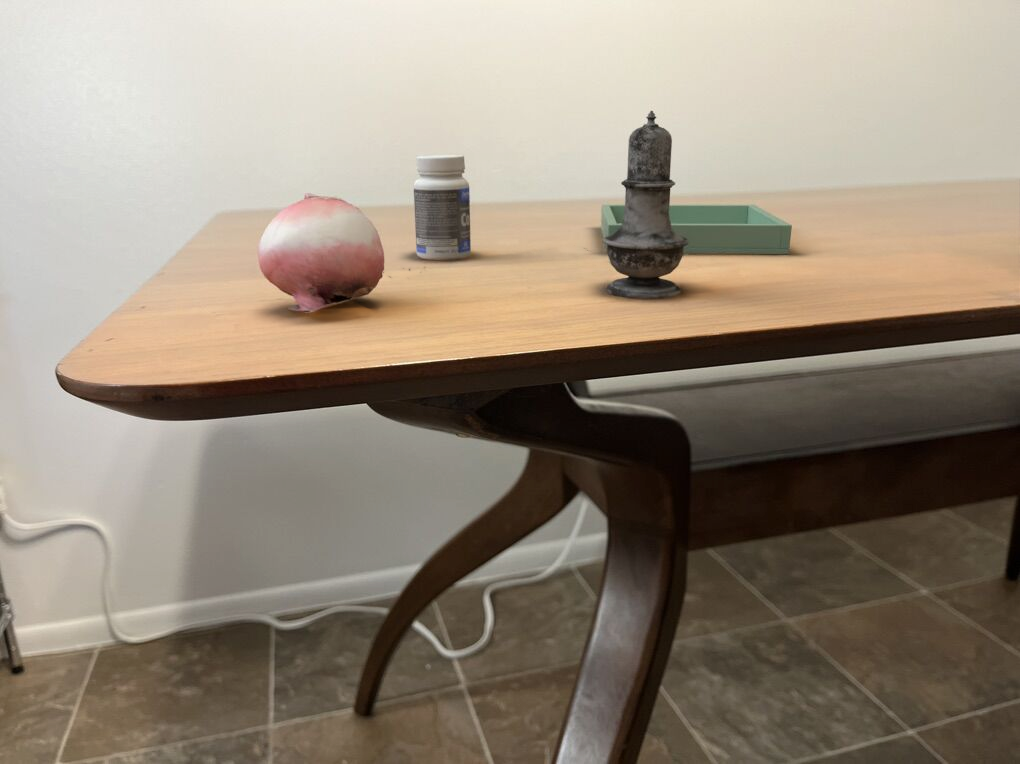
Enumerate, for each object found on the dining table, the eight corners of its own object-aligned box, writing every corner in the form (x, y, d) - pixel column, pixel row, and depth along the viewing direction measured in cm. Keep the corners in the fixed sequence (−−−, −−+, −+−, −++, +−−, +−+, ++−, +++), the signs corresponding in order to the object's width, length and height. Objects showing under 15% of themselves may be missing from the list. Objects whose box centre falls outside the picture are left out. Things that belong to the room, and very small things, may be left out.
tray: (752, 229, 84) (754, 204, 83) (789, 254, 70) (792, 225, 69) (600, 228, 85) (601, 204, 84) (607, 253, 71) (608, 224, 70)
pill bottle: (474, 259, 69) (472, 156, 66) (418, 262, 68) (413, 157, 65) (467, 250, 73) (465, 153, 70) (414, 252, 72) (410, 154, 70)
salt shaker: (703, 292, 56) (716, 110, 53) (640, 304, 53) (650, 111, 49) (644, 278, 61) (653, 110, 57) (584, 288, 58) (588, 110, 54)
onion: (403, 297, 56) (398, 190, 53) (361, 326, 48) (353, 203, 46) (295, 292, 57) (285, 188, 55) (239, 319, 50) (225, 201, 48)
